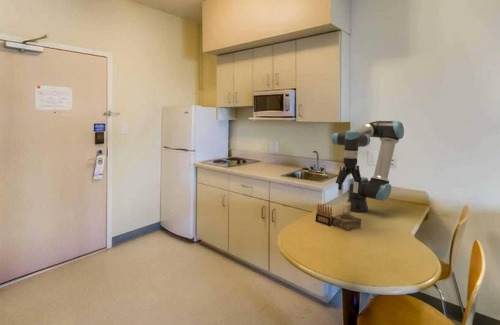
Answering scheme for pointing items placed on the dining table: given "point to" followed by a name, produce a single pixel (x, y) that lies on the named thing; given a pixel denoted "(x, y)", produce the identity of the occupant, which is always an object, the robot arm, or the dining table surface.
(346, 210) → the peg
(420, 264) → the dining table surface
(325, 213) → the ammunition clip
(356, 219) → the socket block
